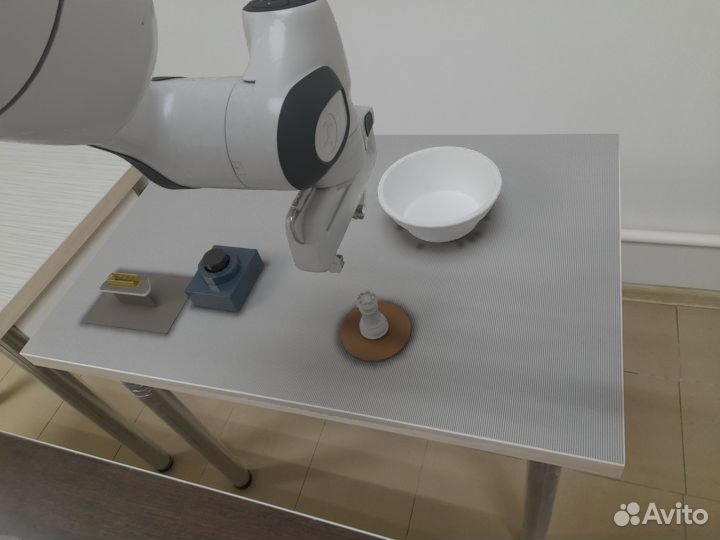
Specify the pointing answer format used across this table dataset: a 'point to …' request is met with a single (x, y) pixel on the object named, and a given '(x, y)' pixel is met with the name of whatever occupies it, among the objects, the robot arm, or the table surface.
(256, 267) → the blue push button box
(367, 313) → the rook chess piece
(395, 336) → the coaster
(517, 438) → the table surface
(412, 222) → the bowl
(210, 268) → the dark grey push button
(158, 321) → the platform
